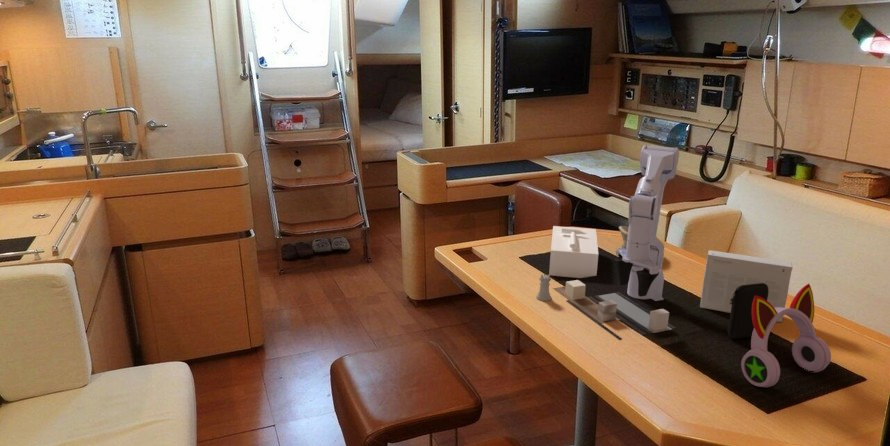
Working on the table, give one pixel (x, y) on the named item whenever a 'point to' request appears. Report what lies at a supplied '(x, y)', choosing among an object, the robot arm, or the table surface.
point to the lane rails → (618, 316)
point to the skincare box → (742, 279)
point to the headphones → (805, 348)
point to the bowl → (626, 236)
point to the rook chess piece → (544, 288)
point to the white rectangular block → (573, 252)
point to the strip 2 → (641, 314)
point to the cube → (575, 289)
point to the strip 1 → (594, 307)
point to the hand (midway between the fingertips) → (632, 289)
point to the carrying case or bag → (744, 309)
